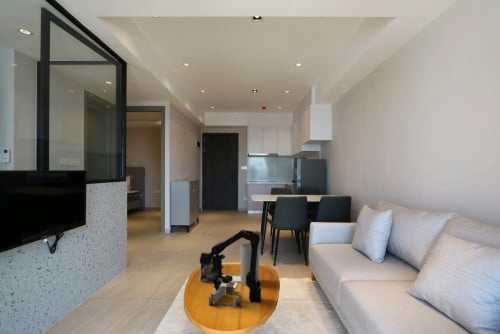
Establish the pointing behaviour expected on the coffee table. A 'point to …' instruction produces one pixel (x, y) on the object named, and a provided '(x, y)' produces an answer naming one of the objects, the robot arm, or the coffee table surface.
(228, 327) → the coffee table surface
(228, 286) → the walnut block
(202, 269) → the coffee box
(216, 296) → the grey block
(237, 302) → the dark grey long piece
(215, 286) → the robot arm
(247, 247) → the cylinder vase
